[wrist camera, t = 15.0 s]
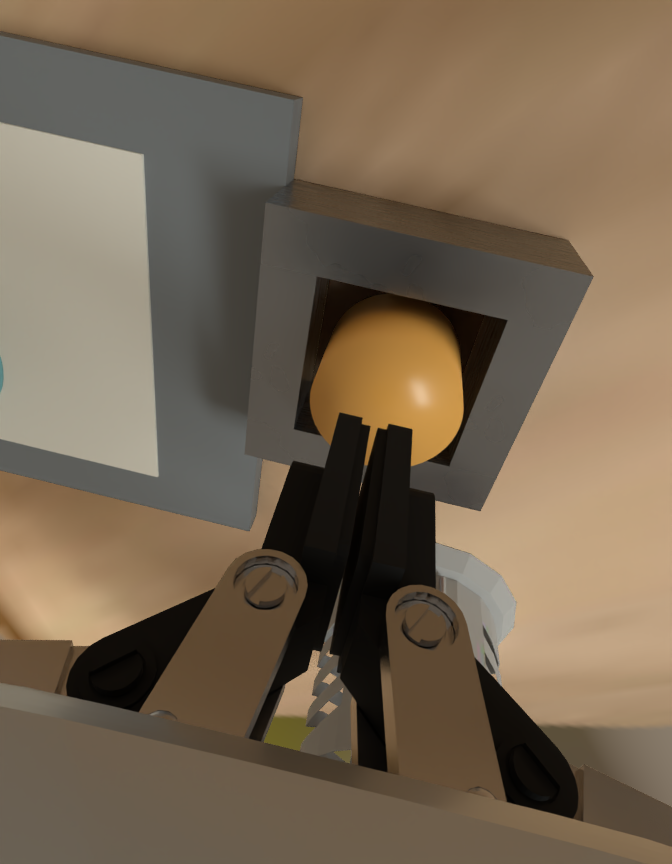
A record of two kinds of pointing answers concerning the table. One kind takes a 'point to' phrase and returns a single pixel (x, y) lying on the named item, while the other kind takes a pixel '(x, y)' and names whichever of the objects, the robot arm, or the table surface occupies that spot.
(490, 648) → the french press
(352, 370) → the button
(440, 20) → the table surface
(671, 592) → the table surface
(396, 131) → the table surface
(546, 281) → the button housing
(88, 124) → the drawing board
